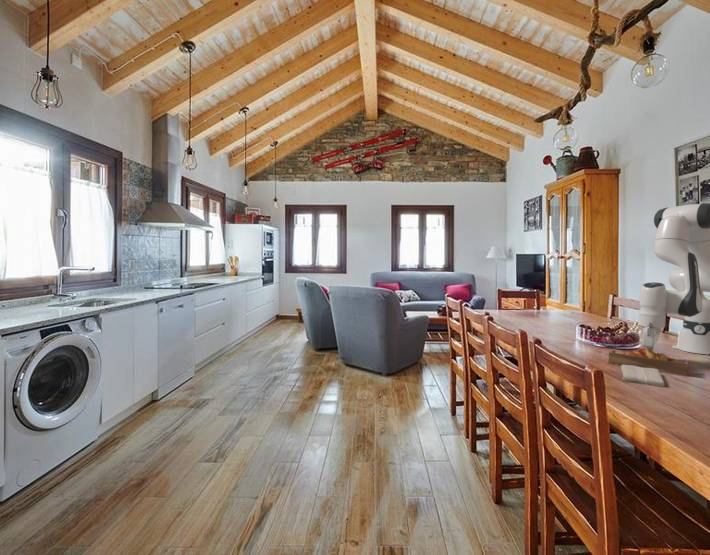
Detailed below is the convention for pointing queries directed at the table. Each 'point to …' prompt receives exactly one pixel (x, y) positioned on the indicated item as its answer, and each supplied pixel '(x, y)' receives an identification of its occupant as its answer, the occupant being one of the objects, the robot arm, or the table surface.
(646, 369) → the washcloth
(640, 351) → the croissant
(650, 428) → the table surface
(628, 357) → the frame
